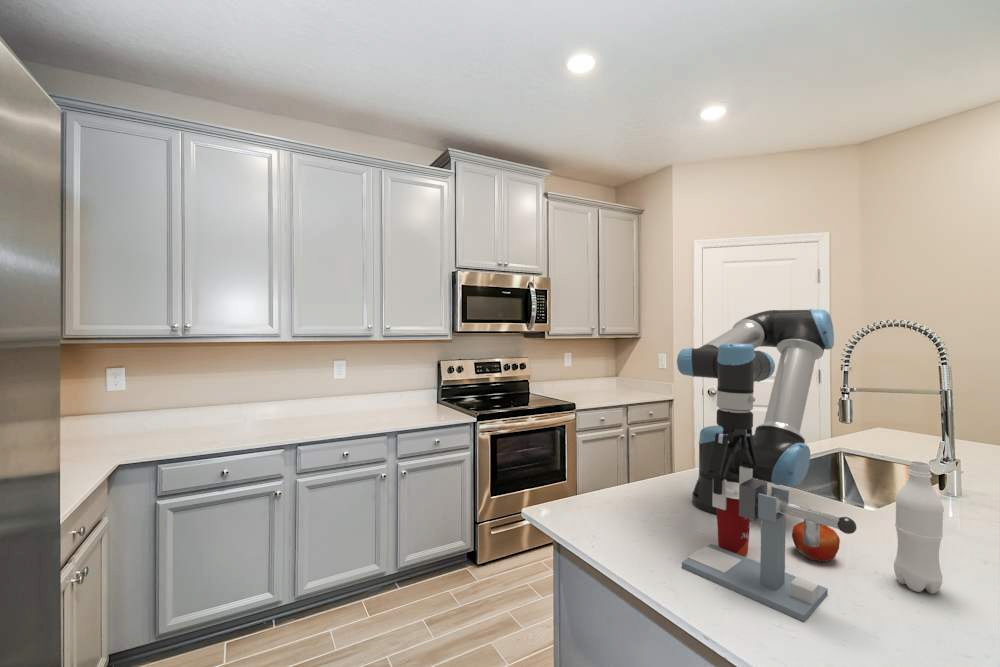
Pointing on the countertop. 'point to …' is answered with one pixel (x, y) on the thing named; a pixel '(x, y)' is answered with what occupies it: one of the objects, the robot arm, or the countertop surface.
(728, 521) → the coffee cup
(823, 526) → the tomato
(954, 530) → the countertop surface
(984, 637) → the countertop surface
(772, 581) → the frame
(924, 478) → the water bottle
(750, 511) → the lever
